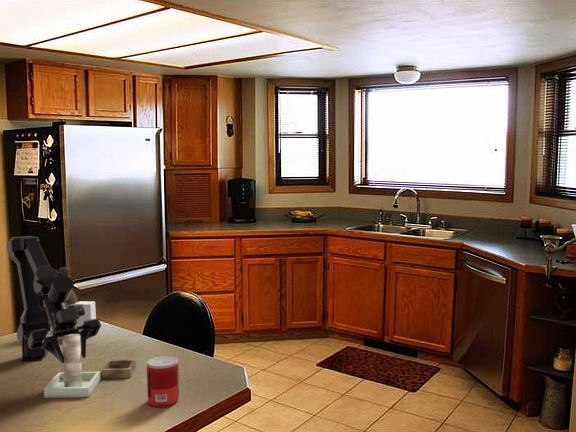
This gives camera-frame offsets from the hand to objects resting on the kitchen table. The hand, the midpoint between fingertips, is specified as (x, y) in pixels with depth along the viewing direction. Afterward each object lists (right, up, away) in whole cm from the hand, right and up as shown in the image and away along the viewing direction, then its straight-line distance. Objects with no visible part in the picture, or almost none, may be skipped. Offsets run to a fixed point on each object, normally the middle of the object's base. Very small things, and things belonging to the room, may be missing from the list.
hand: (74, 360), depth 153 cm
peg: (-1, -8, +2) cm, 8 cm away
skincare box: (-14, -4, +49) cm, 51 cm away
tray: (-1, -8, +2) cm, 9 cm away
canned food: (+26, -9, -6) cm, 28 cm away
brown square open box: (+8, -7, +14) cm, 17 cm away
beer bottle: (-22, -3, +52) cm, 57 cm away
